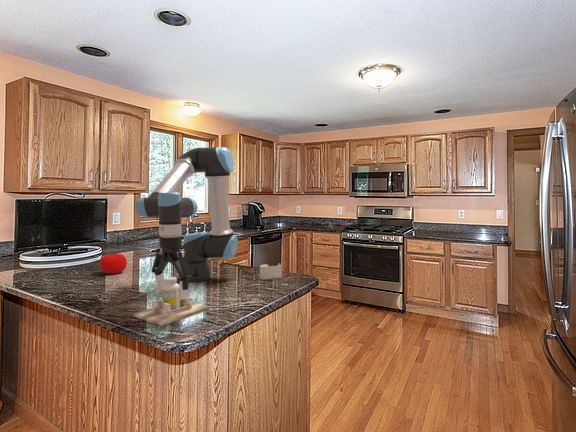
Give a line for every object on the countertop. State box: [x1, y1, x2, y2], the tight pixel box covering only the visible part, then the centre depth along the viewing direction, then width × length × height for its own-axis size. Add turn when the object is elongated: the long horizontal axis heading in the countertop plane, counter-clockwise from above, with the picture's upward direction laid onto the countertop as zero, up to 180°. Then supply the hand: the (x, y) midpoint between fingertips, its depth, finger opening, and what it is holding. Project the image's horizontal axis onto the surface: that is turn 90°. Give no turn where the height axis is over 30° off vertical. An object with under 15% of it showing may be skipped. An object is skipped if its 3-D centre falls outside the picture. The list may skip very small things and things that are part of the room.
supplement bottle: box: [161, 276, 181, 310], centre depth 121 cm, size 6×6×11 cm
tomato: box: [99, 252, 128, 275], centre depth 183 cm, size 12×13×11 cm
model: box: [259, 262, 283, 281], centre depth 172 cm, size 3×11×8 cm, turn 114°
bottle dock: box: [132, 296, 210, 327], centre depth 121 cm, size 16×20×5 cm
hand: (171, 295), depth 121 cm, fingers open, 13 cm apart
